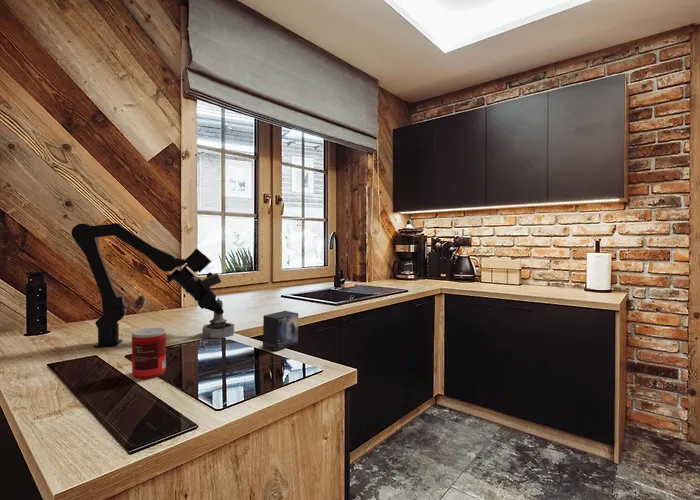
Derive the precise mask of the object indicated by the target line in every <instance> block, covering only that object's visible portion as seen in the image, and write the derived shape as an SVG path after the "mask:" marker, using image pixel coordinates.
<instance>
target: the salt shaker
mask: <svg viewBox="0 0 700 500" xmlns="http://www.w3.org/2000/svg"><path fill="white" fill-rule="evenodd" d="M216 302H217V303H218V304H219V306H220V307H221V309H222V310H223V311H224V309H223V307H224V306H223V301H222V300H221V299H220V298H219V297H217V299H216ZM224 312H225V311H224ZM223 314H224V313H223ZM223 314H220V313H217V312H214V311H213V318H212V319H211V320H209V324H211V326H212V327H213V328H214V329H222V328H223V327H224V326H225V324H226V323H227V322H228V321H227V319H225V318H224V316H223Z"/></svg>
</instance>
